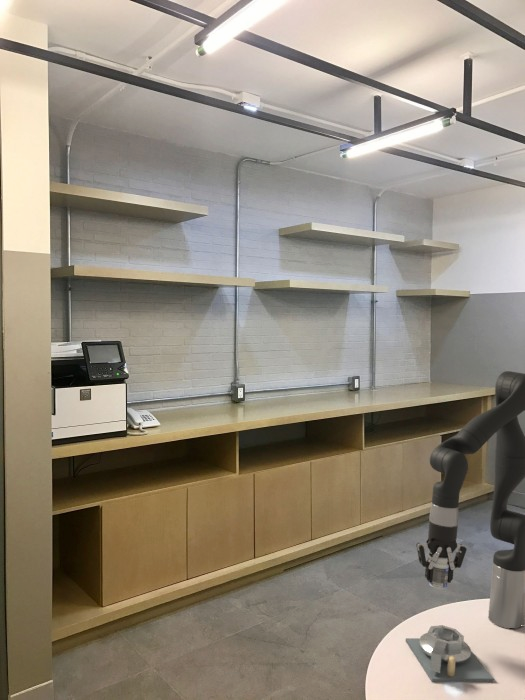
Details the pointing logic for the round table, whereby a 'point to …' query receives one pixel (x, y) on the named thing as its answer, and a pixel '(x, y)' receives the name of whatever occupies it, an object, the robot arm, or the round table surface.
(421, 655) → the slate board
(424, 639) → the handled bowl
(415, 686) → the round table surface
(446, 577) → the pill bottle
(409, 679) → the round table surface
